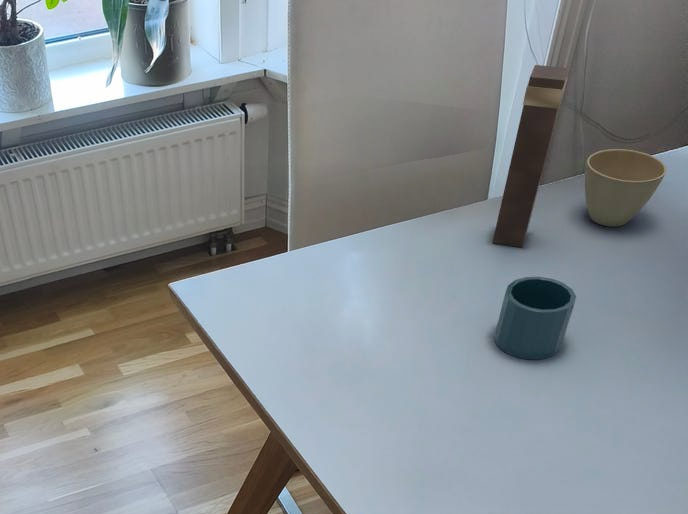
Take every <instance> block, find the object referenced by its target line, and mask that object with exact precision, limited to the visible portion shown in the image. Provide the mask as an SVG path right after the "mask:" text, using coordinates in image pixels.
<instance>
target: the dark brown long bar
mask: <svg viewBox="0 0 688 514" xmlns="http://www.w3.org/2000/svg"><path fill="white" fill-rule="evenodd" d="M569 71H570V68H569V67H562V66H561V67H560V66H550V65H540V64H534V66H533V68H532V71H531V73H530V76H529V79H528V83H527V85H526V88H525V92H524V96H523V101H522V105H523V106H522V110H521V115H520V118H519V123H518V128H517V132H516V135H515V142H514V145H513V149H512V155H511V158H510V163H509V167H508V171H507V176H506V180H505V185H504V189H503V194H502V198H501V203H500V208H499V212H498V216H497V221H496V225H495V229H494V233H493V238H492V244H496V245H503V246H509V247H516V248H524V243H525V241H526V237H527V235H528V231H529V227H530V224H531V220H532V217H533V211H534V208H535V204H536V201H537V196H538V192H539V188H540V185H541V181H542V177H543V173H544V169H545V166H546V161H547V157H548V154H549V150H550V146H551V141H552V138H553V134H554V130H555V127H556V122H557V118H558V114H559V110H560V106H561V103H562V101H563V98H564V94H565V91H566V87H567V82H568V76H569Z"/></svg>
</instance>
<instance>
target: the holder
mask: <svg viewBox="0 0 688 514" xmlns="http://www.w3.org/2000/svg"><path fill="white" fill-rule="evenodd" d="M576 301H577V295H576V294H575V291H574V289H573V288H572V287H570V286H569V285H567V284H566V283H565V282H563V281H560V280H557V279H554V278H550V277H544V276H524V277H520V278H516V279H515V280H513V281H511V282H510V283H509V284H507V287H506V289H505V293H504V297H503V300H502V304H501V308H500V311H499V312H500V313H499V317H498V319H497V324H496V328H495V332H494V342H495V344H496V346H497V347H498V348H499V349H500V350H501V351H502V352H504V353H505V354H508V355H509V356H512V357H515V358H519V359H523V360H543V359H547V358H550V357H552V356H554V355H556V354H557V353H558V352H559V351H560V349H561V347H562V345H563V341H564V338H565V335H566V333H567V329H568V326H569V323H570V319H571V316H572V313H573V310H574V307H575V303H576Z"/></svg>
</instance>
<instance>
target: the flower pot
mask: <svg viewBox="0 0 688 514" xmlns="http://www.w3.org/2000/svg"><path fill="white" fill-rule="evenodd" d="M585 166H586V167H585V172H584V196H585V203H586V208H587V212H588V215H589V218H590V219H591V220H592V222H593V223H594V222H595V223H596V224H599V225H601V226H605V227H614V228H615V227H620V226H624V225H626V224H627V223H628V222H629V221H631V220H632V219H633V218H634V217H635V216H636V215H637V214H638V213H639V212H641V210H642V209H643V208H644V207H645V205H646V204H647V203H648V202H649V200H650V199H651V198H652V197H653V195H654V194H655V192H656V191H657V189H658V187H659V186H660V184H661V183H662V181H663V179H664V177H665V175H666V173H667V167H666V165H665V163H664V162H663V161H662V160H660V159H659V158H657V157H655V156H654V155H652V154H649V153H645V152H642V151H638V150H632V149H625V148H624V149H622V148H612V149H604V150H599V151H596V152H594V153H592V154H590V155H589V156H588V158H587V160H586V165H585Z"/></svg>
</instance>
